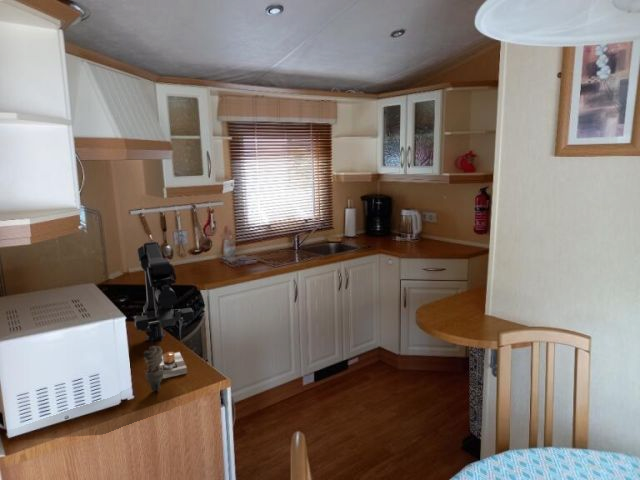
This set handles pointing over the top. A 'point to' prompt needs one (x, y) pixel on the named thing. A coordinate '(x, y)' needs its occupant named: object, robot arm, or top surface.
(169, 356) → the brown round tapered piece
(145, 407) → the top surface
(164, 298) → the robot arm
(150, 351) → the grey stone figurine
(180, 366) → the white block
